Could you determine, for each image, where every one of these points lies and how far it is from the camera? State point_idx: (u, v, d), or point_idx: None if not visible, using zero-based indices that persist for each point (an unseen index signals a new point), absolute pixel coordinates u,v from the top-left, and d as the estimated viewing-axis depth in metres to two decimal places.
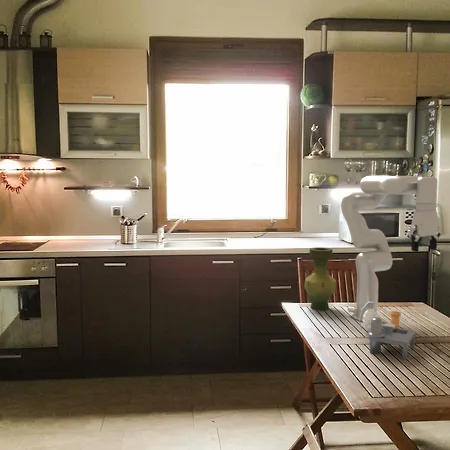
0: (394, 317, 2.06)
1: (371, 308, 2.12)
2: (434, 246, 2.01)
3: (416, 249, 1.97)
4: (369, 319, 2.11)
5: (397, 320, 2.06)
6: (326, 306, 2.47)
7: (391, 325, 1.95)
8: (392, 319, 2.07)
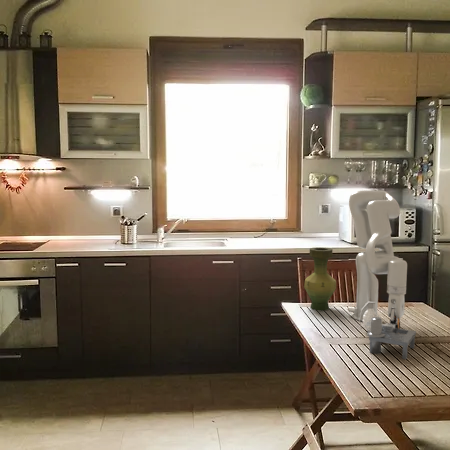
0: None
1: (371, 308, 2.12)
2: None
3: None
4: (369, 319, 2.11)
5: None
6: (326, 306, 2.47)
7: (391, 325, 1.95)
8: None
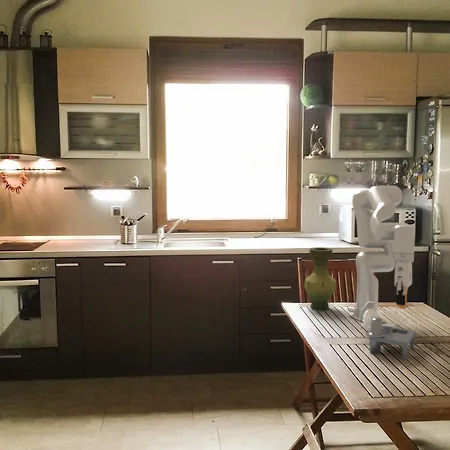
0: None
1: (371, 308, 2.12)
2: None
3: None
4: (369, 319, 2.11)
5: None
6: (326, 306, 2.47)
7: (391, 325, 1.95)
8: None
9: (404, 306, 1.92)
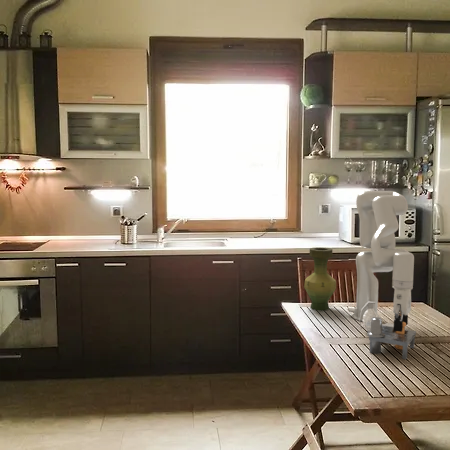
0: None
1: (371, 308, 2.12)
2: None
3: None
4: (369, 319, 2.11)
5: (402, 331, 1.92)
6: (326, 306, 2.47)
7: (391, 325, 1.95)
8: None
9: (402, 347, 1.93)
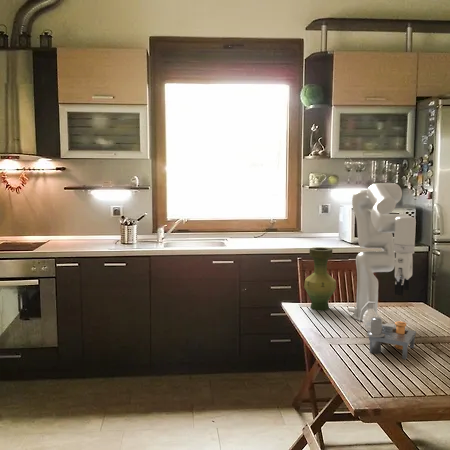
0: (399, 328, 1.92)
1: (371, 308, 2.12)
2: None
3: None
4: (369, 319, 2.11)
5: (402, 331, 1.92)
6: (326, 306, 2.47)
7: (391, 325, 1.95)
8: (397, 330, 1.93)
9: (402, 347, 1.93)
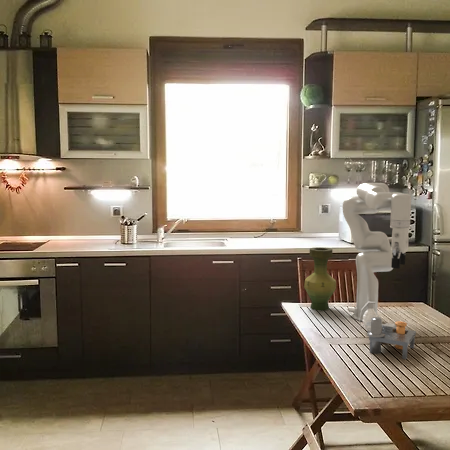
0: (400, 328, 1.92)
1: (371, 308, 2.12)
2: None
3: None
4: (369, 319, 2.11)
5: (403, 331, 1.92)
6: (326, 306, 2.47)
7: (391, 325, 1.95)
8: (397, 330, 1.93)
9: (402, 347, 1.93)
